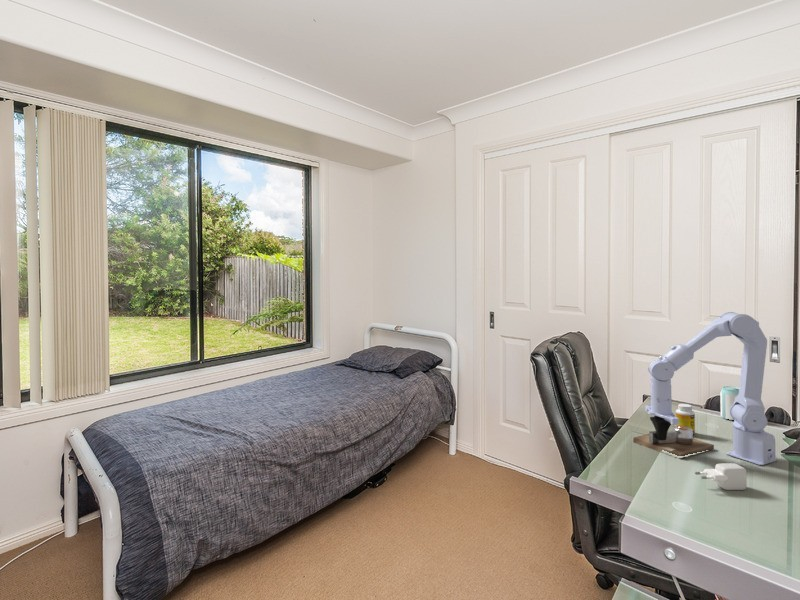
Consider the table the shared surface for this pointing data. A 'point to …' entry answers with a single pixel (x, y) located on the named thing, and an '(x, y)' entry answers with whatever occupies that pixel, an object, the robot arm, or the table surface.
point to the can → (727, 400)
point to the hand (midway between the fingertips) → (661, 439)
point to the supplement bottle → (686, 416)
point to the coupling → (674, 435)
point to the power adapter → (727, 476)
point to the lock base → (675, 446)
